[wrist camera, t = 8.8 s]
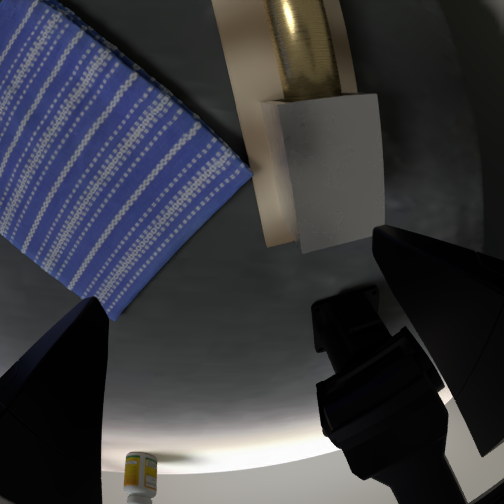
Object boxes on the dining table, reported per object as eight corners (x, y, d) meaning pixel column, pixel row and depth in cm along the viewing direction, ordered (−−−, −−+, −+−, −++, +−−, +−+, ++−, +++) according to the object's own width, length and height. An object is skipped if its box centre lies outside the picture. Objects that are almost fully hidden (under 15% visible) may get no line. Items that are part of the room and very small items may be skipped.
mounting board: (364, 219, 22) (368, 222, 22) (265, 243, 22) (267, 247, 22) (296, -108, 8) (298, -111, 8) (185, -100, 8) (185, -104, 8)
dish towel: (33, -17, 10) (14, -25, 7) (258, 166, 20) (266, 177, 18) (-60, 159, 14) (-79, 169, 12) (117, 313, 24) (111, 335, 22)
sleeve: (350, 202, 21) (384, 232, 17) (281, 217, 21) (301, 254, 17) (338, 91, 17) (376, 93, 13) (259, 102, 17) (277, 105, 12)
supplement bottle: (159, 455, 39) (159, 506, 31) (154, 464, 41) (154, 510, 33) (126, 448, 37) (123, 500, 29) (125, 458, 40) (122, 505, 31)
